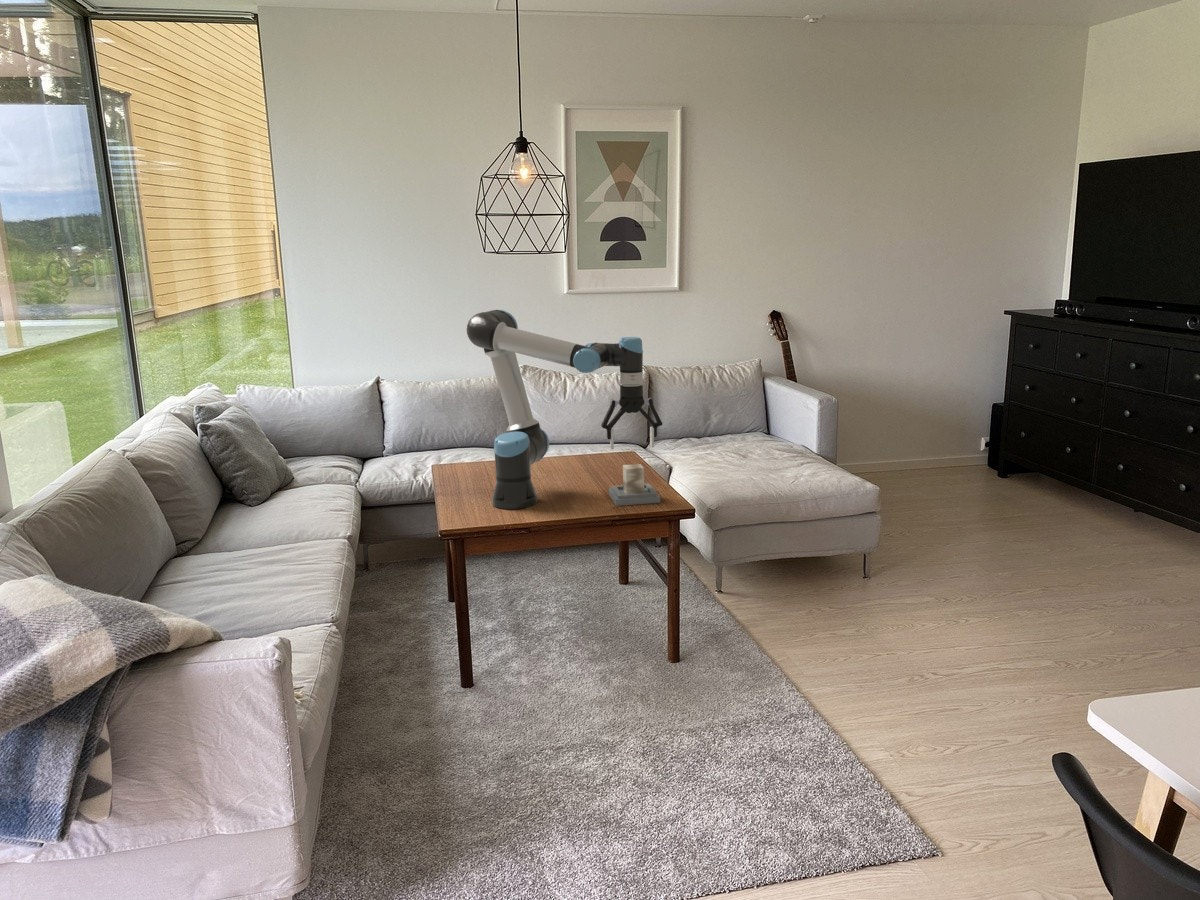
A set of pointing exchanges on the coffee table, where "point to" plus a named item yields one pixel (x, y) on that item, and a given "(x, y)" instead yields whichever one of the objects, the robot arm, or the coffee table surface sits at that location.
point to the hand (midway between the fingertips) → (632, 447)
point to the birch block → (633, 478)
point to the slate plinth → (634, 496)
